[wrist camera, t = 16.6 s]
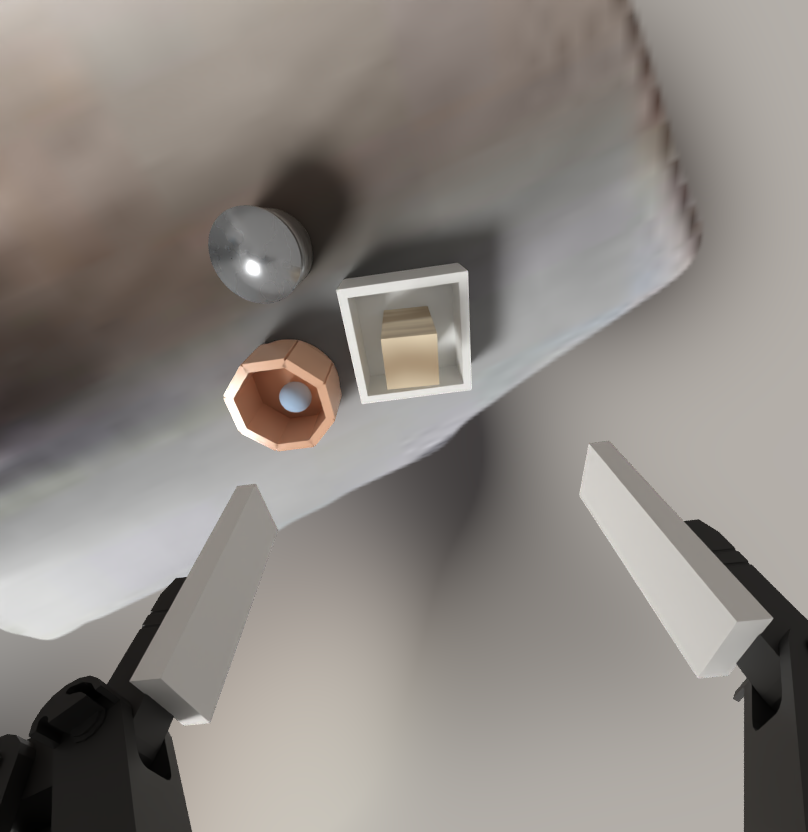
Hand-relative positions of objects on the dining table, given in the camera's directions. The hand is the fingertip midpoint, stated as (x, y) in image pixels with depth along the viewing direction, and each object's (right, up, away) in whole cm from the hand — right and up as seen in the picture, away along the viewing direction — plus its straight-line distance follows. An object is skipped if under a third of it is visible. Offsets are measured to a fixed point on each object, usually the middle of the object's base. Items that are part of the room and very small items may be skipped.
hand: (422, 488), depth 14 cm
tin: (-11, +17, +15) cm, 25 cm away
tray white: (0, +11, +19) cm, 22 cm away
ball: (-11, +6, +19) cm, 23 cm away
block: (0, +11, +18) cm, 21 cm away
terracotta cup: (-12, +6, +21) cm, 25 cm away
